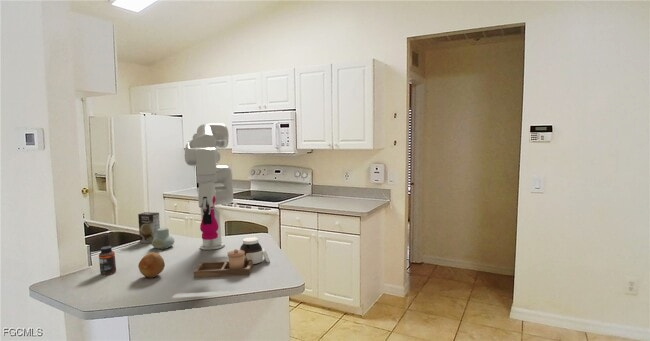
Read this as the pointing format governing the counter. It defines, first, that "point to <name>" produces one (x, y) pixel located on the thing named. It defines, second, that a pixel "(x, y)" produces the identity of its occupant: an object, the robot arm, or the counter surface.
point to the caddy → (221, 269)
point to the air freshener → (163, 239)
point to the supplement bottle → (107, 261)
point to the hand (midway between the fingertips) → (209, 222)
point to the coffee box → (148, 226)
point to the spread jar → (253, 250)
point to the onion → (151, 265)
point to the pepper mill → (210, 225)
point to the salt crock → (236, 259)
